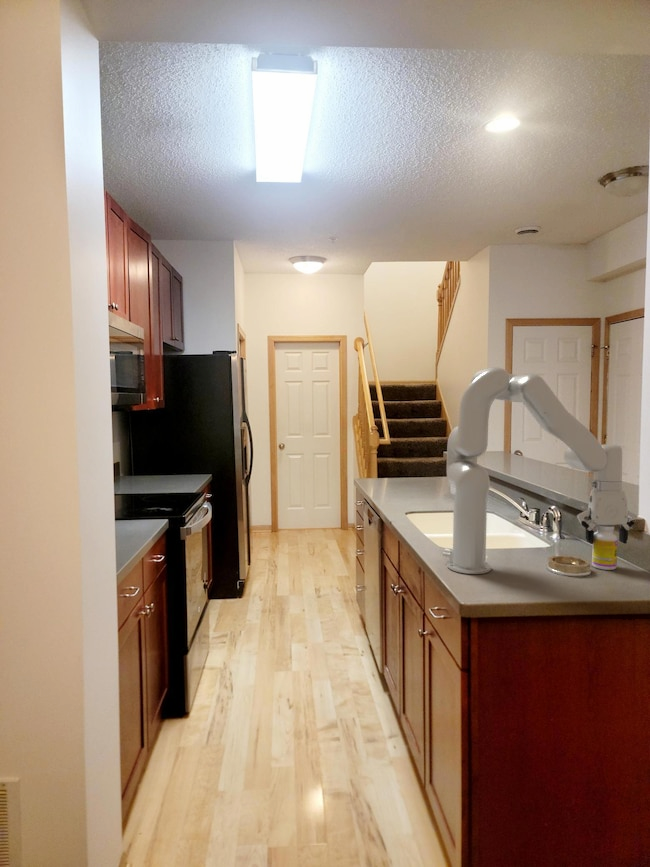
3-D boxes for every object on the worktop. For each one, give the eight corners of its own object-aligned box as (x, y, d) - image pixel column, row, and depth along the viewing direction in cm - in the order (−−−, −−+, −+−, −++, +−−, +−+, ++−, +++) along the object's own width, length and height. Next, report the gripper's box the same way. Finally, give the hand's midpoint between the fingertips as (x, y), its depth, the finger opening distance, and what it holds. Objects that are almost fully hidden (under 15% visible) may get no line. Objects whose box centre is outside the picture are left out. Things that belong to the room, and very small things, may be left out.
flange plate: (539, 569, 162) (539, 560, 162) (557, 561, 170) (557, 552, 170) (580, 579, 153) (581, 569, 153) (597, 570, 161) (597, 561, 161)
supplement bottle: (618, 571, 160) (619, 528, 160) (592, 569, 163) (594, 526, 162) (614, 565, 167) (616, 523, 166) (590, 563, 169) (592, 521, 168)
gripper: (583, 488, 160) (582, 546, 161) (643, 487, 159) (642, 545, 160) (572, 484, 167) (572, 539, 168) (630, 483, 167) (629, 539, 168)
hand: (606, 542), depth 164 cm, fingers open, 9 cm apart
